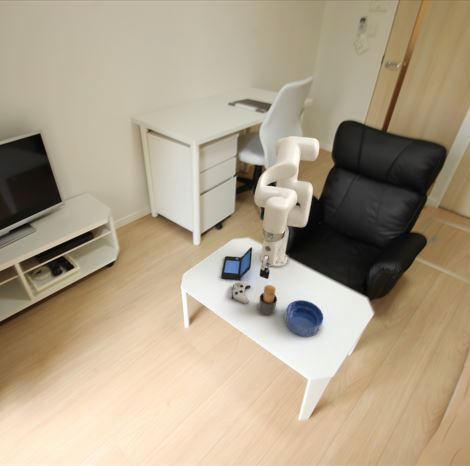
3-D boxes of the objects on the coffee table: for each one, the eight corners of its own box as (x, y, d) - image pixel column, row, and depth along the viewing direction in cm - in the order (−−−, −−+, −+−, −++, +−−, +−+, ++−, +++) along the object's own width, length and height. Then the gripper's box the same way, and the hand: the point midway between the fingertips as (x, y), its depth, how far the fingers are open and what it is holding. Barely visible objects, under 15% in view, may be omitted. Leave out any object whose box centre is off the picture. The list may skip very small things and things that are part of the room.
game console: (224, 257, 160) (225, 243, 155) (251, 260, 158) (252, 246, 153) (220, 279, 148) (220, 264, 142) (249, 282, 146) (250, 267, 140)
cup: (261, 301, 137) (263, 289, 133) (277, 306, 134) (279, 295, 130) (256, 312, 132) (257, 301, 128) (272, 318, 129) (274, 307, 125)
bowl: (289, 304, 135) (291, 295, 132) (323, 316, 130) (326, 307, 126) (280, 329, 125) (282, 320, 122) (316, 343, 120) (319, 334, 117)
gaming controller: (249, 303, 134) (238, 294, 132) (238, 309, 138) (228, 299, 136) (252, 285, 143) (241, 275, 141) (241, 290, 146) (231, 281, 144)
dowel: (263, 303, 135) (266, 283, 128) (273, 307, 134) (276, 287, 126) (260, 310, 132) (262, 290, 125) (270, 314, 130) (273, 294, 123)
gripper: (276, 249, 100) (270, 287, 110) (291, 221, 112) (284, 258, 122) (254, 243, 103) (250, 280, 113) (270, 216, 115) (266, 252, 125)
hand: (268, 269), depth 117 cm, fingers open, 9 cm apart
